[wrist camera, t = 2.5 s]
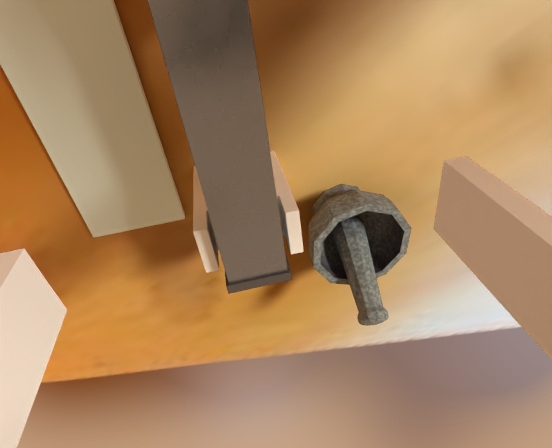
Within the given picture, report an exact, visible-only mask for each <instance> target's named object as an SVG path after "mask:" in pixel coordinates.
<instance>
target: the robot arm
mask: <svg viewBox="0 0 552 448" xmlns="http://www.w3.org/2000/svg"><path fill="white" fill-rule="evenodd" d="M434 230H435V231H436V232H437V233H438V234H439V235H440V237H441V238H442V239H443V240H444V241H445V242H446V243H447V244H448V245H449V247H450V248H451V249H452V250H453V251H454V252H455V253H456V254H457V255H458V257H459V258H460V259H461V260H462V261H463V262H464V263H465V264H466V265H467V267H468V268H469V269H470V270H471V271H472V272H473V273H474V274H475V275H476V277H477V278H478V279H479V280H480V281H481V282H482V283H483V284H484V285H485V287H486V288H487V289H488V290H489V291H490V292H491V293H492V294H493V295H494V297H495V298H496V299H497V300H498V301H499V302H500V303H501V304H502V305H503V307H504V308H505V309H506V310H507V311H508V312H509V313H510V314H511V315H512V317H513V318H514V319H515V320H516V321H517V322H518V323H519V324H520V325H521V327H522V328H523V329H524V330H525V331H526V332H527V333H528V334H529V335H530V337H531V338H533V340H534V341H535V342H536V343H537V344H538V345H539V347H540V348H541V349H542V350H543V351H544V352H545V353H546V354H547V355H548V356H549V357H550V359H551V360H552V216H551V215H549V214H548V213H546V212H545V211H544V210H542V209H541V208H539V207H538V206H536V205H535V204H534V203H532V202H531V201H529V200H528V199H527V198H525V197H524V196H522V195H521V194H520V193H518V192H517V191H515V190H514V189H512V188H511V187H510V186H508V185H507V184H505V183H504V182H503V181H501V180H500V179H498V178H497V177H496V176H494V175H493V174H491V173H490V172H488V171H487V170H486V169H484V168H483V167H481V166H480V165H479V164H477V163H476V162H474V161H473V160H472V159H470V158H469V157H467V156H464V157H459V158H454V159H449V160H444V163H443V170H442V177H441V183H440V190H439V196H438V203H437V209H436V216H435V222H434ZM66 312H67V309H66V308H65V306H64V305H63V303H62V302H61V300H60V299H59V298H58V296H57V295H56V293H55V292H54V290H53V289H52V288H51V286H50V285H49V283H48V282H47V280H46V279H45V278H44V276H43V275H42V273H41V272H40V270H39V269H38V268H37V266H36V265H35V263H34V262H33V260H32V259H31V257H30V256H29V255H28V253H27V252H26V250H25V249H24V248H23V249H18V250H14V251H9V252H4V253H0V448H17V446H18V443H19V440H20V437H21V435H22V432H23V429H24V426H25V424H26V421H27V418H28V415H29V413H30V410H31V407H32V404H33V402H34V399H35V396H36V393H37V391H38V388H39V385H40V383H41V380H42V377H43V375H44V372H45V369H46V366H47V364H48V361H49V358H50V355H51V353H52V350H53V347H54V345H55V342H56V339H57V336H58V334H59V331H60V328H61V325H62V323H63V320H64V317H65V315H66Z"/></svg>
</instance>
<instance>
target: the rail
mask: <svg viewBox="0 0 552 448" xmlns="http://www.w3.org/2000/svg"><path fill="white" fill-rule="evenodd" d="M148 3H149V7H150V10H151V14H152V17H153V21H154V24H155V28H156V31H157V35H158V38H159V42H160V45H161V49H162V52H163V56H164V59H165V63H166V66H167V70H168V73H169V77H170V80H171V84H172V87H173V91H174V94H175V98H176V101H177V105H178V108H179V111H180V115H181V118H182V122H183V125H184V129H185V132H186V136H187V139H188V143H189V146H190V150H191V153H192V157H193V160H194V164H195V167H196V171H197V174H198V178H199V181H200V185H201V188H202V192H203V195H204V199H205V202H206V206H207V209H208V213H209V216H210V220H211V223H212V227H213V230H214V234H215V237H216V241H217V244H218V248H219V251H220V254H221V258H222V261H223V265H224V268H225V277H226V286H227V290H228V293H234V292H238V291H243V290H247V289H252V288H257V287H261V286H266V285H270V284H275V283H279V282H284V281H288V280H292V276H291V271H290V267H289V264H288V261H287V258H286V254H285V249H284V242H283V235H282V228H281V222H280V215H279V208H278V202H277V195H276V188H275V181H274V175H273V168H272V161H271V155H270V148H269V141H268V134H267V128H266V121H265V114H264V107H263V101H262V94H261V87H260V81H259V74H258V67H257V60H256V54H255V47H254V40H253V34H252V27H251V20H250V13H249V7H248V0H148Z"/></svg>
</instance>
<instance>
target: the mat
mask: <svg viewBox="0 0 552 448" xmlns="http://www.w3.org/2000/svg"><path fill="white" fill-rule="evenodd" d="M0 65H1V67H2V68H3V70H4V72H5V74H6V76H7V78H8V80H9V82H10V83H11V85H12V87H13V89H14V91H15V93H16V95H17V96H18V98H19V100H20V102H21V104H22V106H23V108H24V109H25V111H26V113H27V115H28V117H29V119H30V121H31V122H32V124H33V126H34V128H35V130H36V132H37V134H38V135H39V137H40V139H41V141H42V143H43V145H44V147H45V148H46V150H47V152H48V154H49V156H50V158H51V160H52V161H53V163H54V165H55V167H56V169H57V171H58V173H59V175H60V176H61V178H62V180H63V182H64V184H65V186H66V188H67V189H68V191H69V193H70V195H71V197H72V199H73V201H74V202H75V204H76V206H77V208H78V210H79V212H80V214H81V215H82V217H83V219H84V221H85V223H86V225H87V227H88V228H89V230H90V232H91V234H92V236H93V238H95V237H100V236H105V235H109V234H114V233H119V232H124V231H129V230H134V229H139V228H143V227H148V226H153V225H158V224H163V223H168V222H173V221H177V220H182V219H185V212H184V209H183V206H182V203H181V200H180V197H179V194H178V191H177V188H176V185H175V182H174V179H173V176H172V173H171V170H170V167H169V164H168V161H167V158H166V155H165V152H164V149H163V146H162V143H161V140H160V137H159V134H158V131H157V128H156V125H155V122H154V119H153V116H152V113H151V110H150V107H149V104H148V101H147V98H146V95H145V92H144V89H143V86H142V83H141V80H140V77H139V74H138V71H137V68H136V65H135V62H134V59H133V56H132V53H131V50H130V47H129V44H128V41H127V38H126V35H125V32H124V29H123V26H122V23H121V20H120V17H119V14H118V11H117V8H116V5H115V2H114V0H0Z"/></svg>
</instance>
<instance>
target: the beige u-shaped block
mask: <svg viewBox="0 0 552 448" xmlns="http://www.w3.org/2000/svg"><path fill="white" fill-rule="evenodd" d="M270 155H271V161H272V168H273V175H274V181H275V188H276V195H277V202H278V208H279V215H280V222H281V228H282V235H283V236H285V237H286V240H287V243H288V246H289V250H290V253H291V254H296V253H301V252H304V251H303V242H302V233H301V224H300V215H299V209H298V207H297V204H296V202H295V199H294V197H293V195H292V192H291V190H290V187H289V185H288V183H287V180H286V178H285V176H284V173H283V171H282V168H281V166H280V164H279V161H278V159H277V156H276V154H275V152H274V151H270ZM193 233H194V236H195V239H196V243H197V246H198V249H199V252H200V255H201V258H202V261H203V264H204V267H205V270H206V273H208V272H213V271H217V270H219V260H218V250H219V248H218V244H217V241H216V237H215V234H214V230H213V227H212V223H211V220H210V216H209V213H208V209H207V206H206V202H205V199H204V195H203V192H202V188H201V185H200V181H199V178H198V174H197V171H196V167H195V166H194V176H193Z"/></svg>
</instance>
